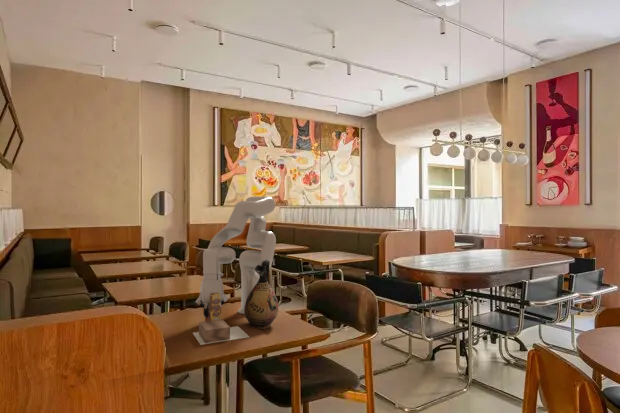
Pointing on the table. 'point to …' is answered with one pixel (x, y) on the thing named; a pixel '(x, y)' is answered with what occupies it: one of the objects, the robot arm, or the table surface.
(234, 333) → the baseplate
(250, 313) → the ceramic jug
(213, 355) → the table surface
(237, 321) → the table surface
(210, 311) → the candy box
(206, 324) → the walnut block
